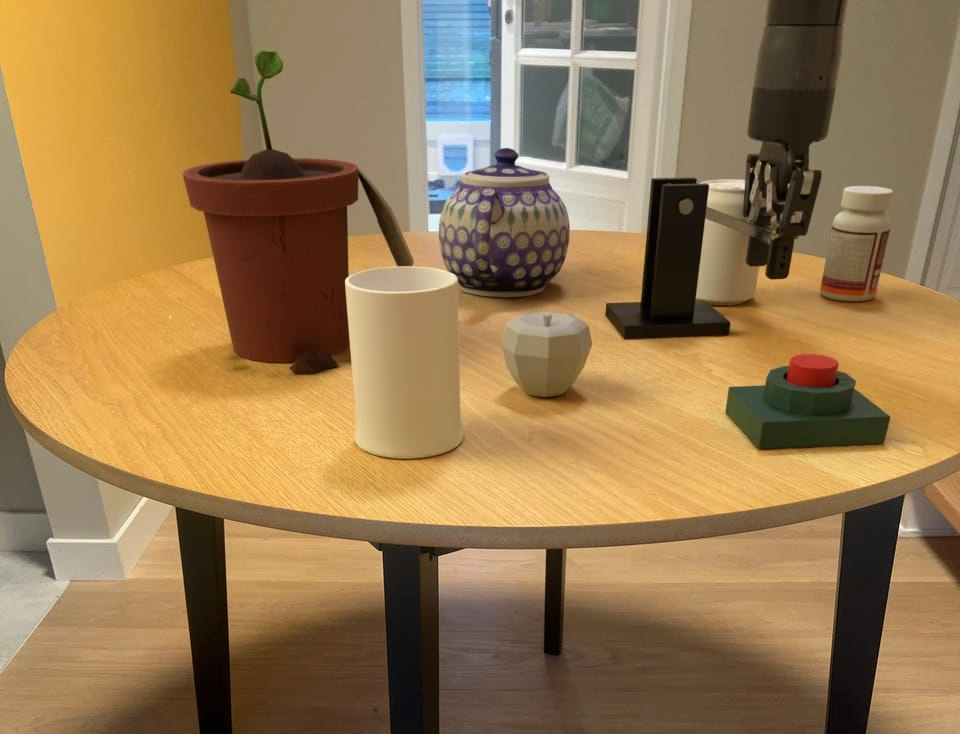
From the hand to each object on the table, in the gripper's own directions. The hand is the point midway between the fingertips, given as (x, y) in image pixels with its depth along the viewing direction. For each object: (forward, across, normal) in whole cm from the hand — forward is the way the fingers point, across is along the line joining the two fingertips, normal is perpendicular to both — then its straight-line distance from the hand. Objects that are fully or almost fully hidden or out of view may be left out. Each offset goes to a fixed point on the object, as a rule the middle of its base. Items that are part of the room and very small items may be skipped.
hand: (765, 271), depth 98 cm
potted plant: (+5, -3, +46) cm, 47 cm away
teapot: (+5, +18, +25) cm, 31 cm away
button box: (+5, -30, +7) cm, 31 cm away
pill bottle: (+5, +9, -14) cm, 17 cm away
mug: (+5, -27, +38) cm, 47 cm away
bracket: (+5, 0, +10) cm, 11 cm away
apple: (+5, -19, +26) cm, 33 cm away
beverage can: (+5, +10, +1) cm, 11 cm away
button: (+2, -30, +7) cm, 31 cm away
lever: (-4, 0, +6) cm, 7 cm away
